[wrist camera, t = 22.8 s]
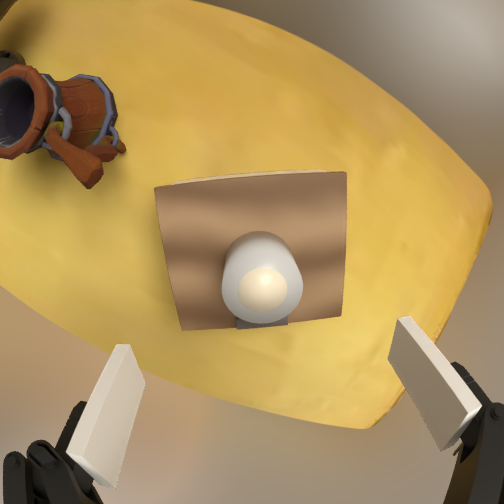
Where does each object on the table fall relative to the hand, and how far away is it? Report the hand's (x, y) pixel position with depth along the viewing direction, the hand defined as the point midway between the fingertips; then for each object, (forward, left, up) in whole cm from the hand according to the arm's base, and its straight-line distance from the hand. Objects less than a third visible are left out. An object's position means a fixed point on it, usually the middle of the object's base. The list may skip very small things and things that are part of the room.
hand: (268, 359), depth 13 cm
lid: (0, 0, -14) cm, 14 cm away
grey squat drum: (+1, 0, -13) cm, 13 cm away
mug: (-15, -18, -23) cm, 32 cm away
